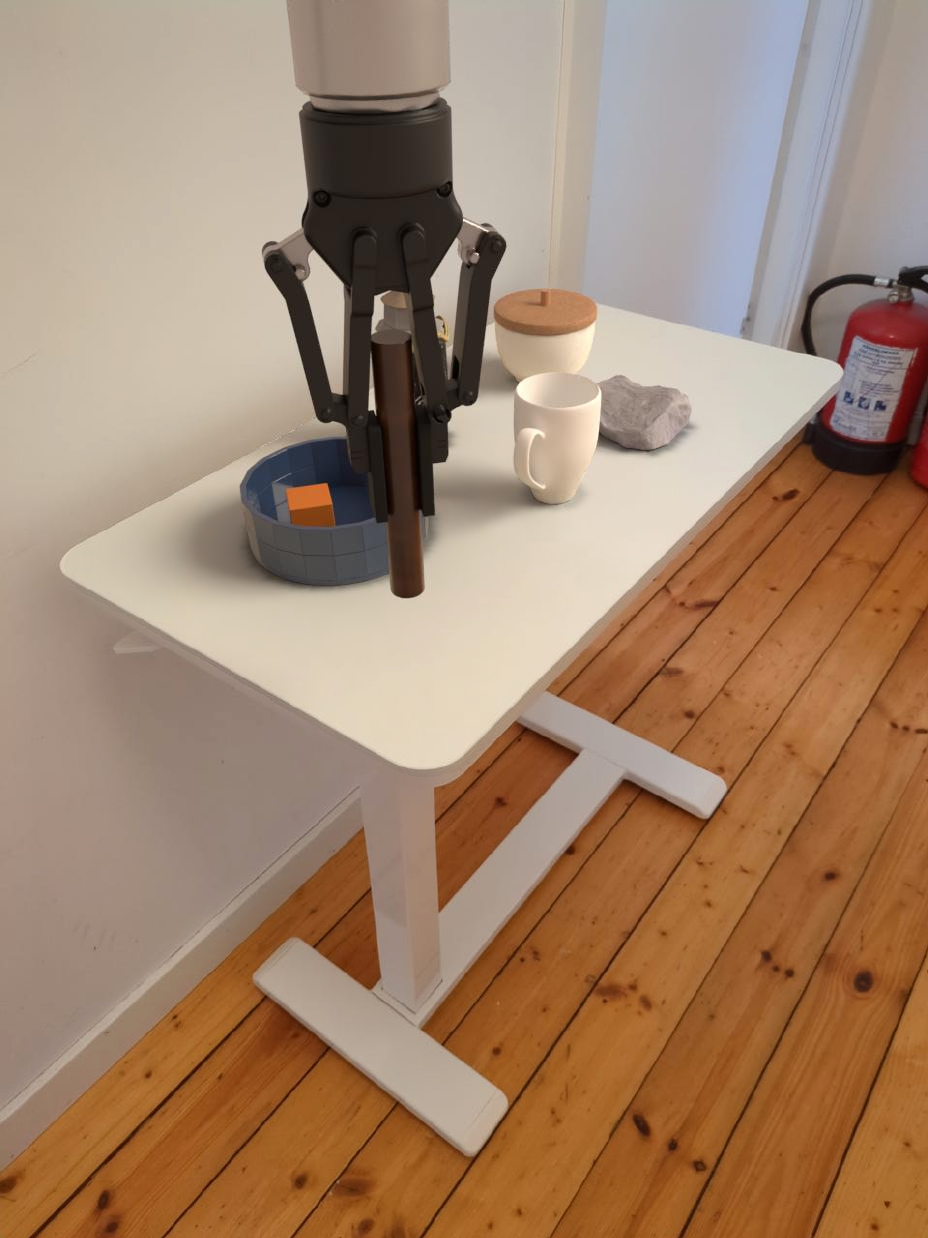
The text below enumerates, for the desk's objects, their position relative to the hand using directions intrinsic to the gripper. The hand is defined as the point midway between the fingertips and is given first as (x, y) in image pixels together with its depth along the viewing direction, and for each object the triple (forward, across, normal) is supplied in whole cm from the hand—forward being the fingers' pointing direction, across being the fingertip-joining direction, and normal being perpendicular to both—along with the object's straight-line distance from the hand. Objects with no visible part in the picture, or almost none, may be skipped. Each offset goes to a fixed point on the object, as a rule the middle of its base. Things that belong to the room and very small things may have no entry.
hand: (402, 508), depth 58 cm
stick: (+6, 0, 0) cm, 6 cm away
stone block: (+17, -32, -38) cm, 53 cm away
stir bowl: (+17, +3, -25) cm, 30 cm away
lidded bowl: (+17, -27, -54) cm, 63 cm away
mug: (+17, -18, -25) cm, 35 cm away
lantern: (+17, -8, -42) cm, 46 cm away
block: (+17, +5, -25) cm, 30 cm away
